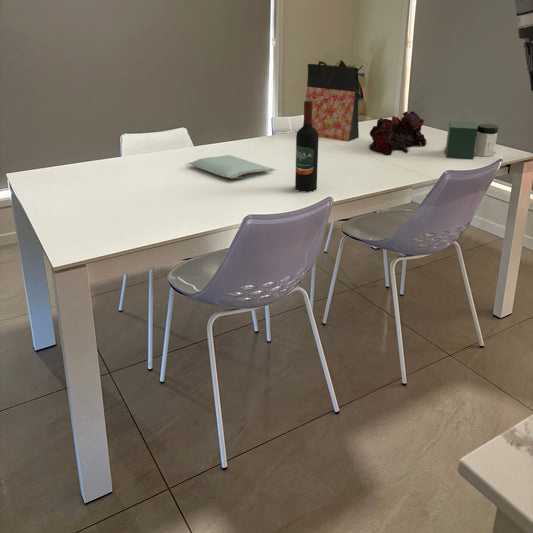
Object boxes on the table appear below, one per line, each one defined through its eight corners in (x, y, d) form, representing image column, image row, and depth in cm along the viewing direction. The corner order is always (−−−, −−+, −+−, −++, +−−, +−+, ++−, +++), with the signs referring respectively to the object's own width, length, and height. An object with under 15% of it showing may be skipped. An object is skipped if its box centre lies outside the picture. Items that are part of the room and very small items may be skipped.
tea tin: (445, 150, 256) (449, 123, 251) (470, 151, 254) (474, 124, 249) (446, 157, 245) (450, 129, 240) (472, 159, 243) (477, 130, 238)
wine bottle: (321, 189, 206) (324, 102, 194) (304, 193, 202) (306, 104, 190) (307, 184, 212) (310, 98, 199) (290, 187, 208) (292, 101, 195)
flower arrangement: (396, 157, 246) (400, 121, 240) (357, 149, 258) (359, 114, 252) (433, 144, 267) (437, 110, 261) (395, 137, 279) (398, 105, 273)
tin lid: (448, 122, 252) (449, 121, 252) (474, 124, 250) (475, 122, 250) (450, 129, 240) (450, 127, 240) (477, 130, 238) (477, 128, 238)
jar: (479, 157, 246) (483, 128, 241) (469, 152, 253) (473, 124, 248) (498, 155, 248) (503, 127, 243) (487, 151, 255) (492, 123, 250)
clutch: (228, 162, 245) (187, 166, 232) (228, 151, 243) (187, 155, 230) (272, 176, 225) (231, 182, 213) (273, 165, 224) (231, 170, 211)
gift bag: (298, 135, 284) (300, 58, 269) (314, 129, 294) (317, 56, 279) (352, 143, 268) (357, 62, 253) (366, 137, 278) (372, 60, 263)
